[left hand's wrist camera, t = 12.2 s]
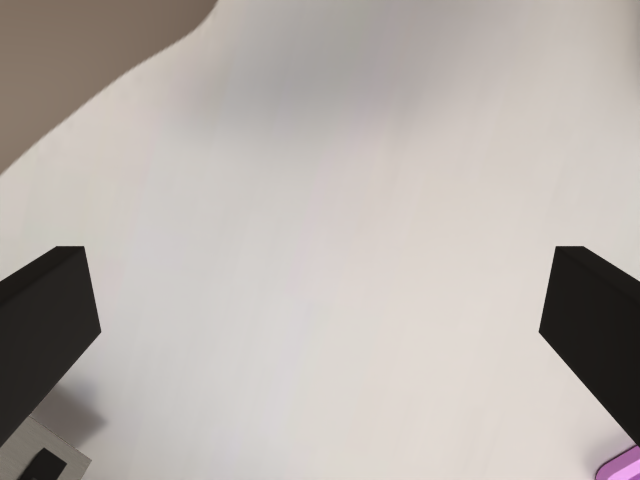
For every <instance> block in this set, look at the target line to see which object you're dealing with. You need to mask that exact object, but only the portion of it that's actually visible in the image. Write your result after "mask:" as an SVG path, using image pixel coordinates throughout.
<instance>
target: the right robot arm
mask: <svg viewBox="0 0 640 480" xmlns="http://www.w3.org/2000/svg"><path fill="white" fill-rule="evenodd" d="M66 465H67V463H66V462H65V461H63V460H62V459H60V458H59V457H57V456H56V455H54V454H53V453H52V452H50V451H49V450H47V449H46V448H43V449H41V450H40V451H39V452H38V454H37V455H36V456H35V458H34V459H33V460H32V462H31V463H30V464H29V466H28V467H27V468H26V470H25V471H24V472H23V474H22V475H21V476H20V478H19V479H18V480H57V479H58V477H59V476H60V474H61V473H62V471H63V470H64V468H65V467H66Z"/></svg>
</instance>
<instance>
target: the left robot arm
mask: <svg viewBox="0 0 640 480" xmlns="http://www.w3.org/2000/svg"><path fill="white" fill-rule="evenodd" d="M100 333H101V328H100V323H99V318H98V313H97V308H96V303H95V298H94V293H93V288H92V283H91V278H90V273H89V268H88V263H87V258H86V253H85V248H84V246H56V247H55V248H53V249H51V250H50V251H48V252H47V253H45V254H43V255H42V256H40V257H39V258H37V259H35V260H34V261H32V262H31V263H29V264H28V265H26V266H24V267H23V268H21V269H20V270H18V271H16V272H15V273H13V274H12V275H10V276H8V277H7V278H5V279H4V280H2V281H0V448H1V447H2V445H3V444H4V443H5V442H6V441H7V440H8V439H9V437H10V436H11V435H12V434H13V433H14V432H15V431H16V429H17V428H18V427H19V426H20V425H21V424H22V422H23V421H24V420H25V419H26V418H27V417H28V416H29V414H30V413H31V412H32V411H33V410H34V409H35V408H36V406H37V405H38V404H39V403H40V402H41V401H42V400H43V398H44V397H45V396H46V395H47V394H48V393H49V392H50V390H51V389H52V388H53V387H54V386H55V385H56V383H57V382H58V381H59V380H60V379H61V378H62V377H63V375H64V374H65V373H66V372H67V371H68V370H69V369H70V367H71V366H72V365H73V364H74V363H75V362H76V361H77V359H78V358H79V357H80V356H81V355H82V354H83V353H84V351H85V350H86V349H87V348H88V347H89V346H90V345H91V343H92V342H93V341H94V340H95V339H96V338H97V336H98V335H99V334H100ZM539 333H540V334H541V335H542V336H543V338H544V339H545V340H546V341H547V342H548V343H549V345H550V346H551V347H552V348H553V349H554V350H555V351H556V353H557V354H558V355H559V356H560V357H561V358H562V359H563V361H564V362H565V363H566V364H567V365H568V366H569V367H570V369H571V370H572V371H573V372H574V373H575V374H576V375H577V377H578V378H579V379H580V380H581V381H582V382H583V383H584V385H585V386H586V387H587V388H588V389H589V390H590V392H591V393H592V394H593V395H594V396H595V397H596V398H597V400H598V401H599V402H600V403H601V404H602V405H603V406H604V408H605V409H606V410H607V411H608V412H609V413H610V414H611V416H612V417H613V418H614V419H615V420H616V421H617V422H618V424H619V425H620V426H621V427H622V428H623V429H624V431H625V432H626V433H627V434H628V435H629V436H630V437H631V439H632V440H633V441H634V442H635V443H636V444H637V445H638V447H639V448H640V281H638V280H636V279H635V278H633V277H632V276H630V275H628V274H627V273H625V272H624V271H622V270H620V269H619V268H617V267H616V266H614V265H612V264H611V263H609V262H608V261H606V260H605V259H603V258H601V257H600V256H598V255H597V254H595V253H593V252H592V251H590V250H589V249H587V248H585V247H584V246H556V248H555V253H554V258H553V263H552V268H551V273H550V278H549V283H548V288H547V293H546V298H545V303H544V308H543V313H542V318H541V323H540V328H539Z"/></svg>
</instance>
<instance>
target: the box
mask: <svg viewBox="0 0 640 480" xmlns="http://www.w3.org/2000/svg"><path fill="white" fill-rule="evenodd" d="M43 448H46V449H47V450H49V451H50V452H52V453H53V454H54V455H56V456H57V457H59V458H60V459H62V460H63V461H65V462H66V463H67V465H66V467H65V468H64V470H63V471H62V473H61V474H60V476H59V477H58V479H57V480H81V478H82V476H83V475H84V473H85V471H86V470H87V468H88V466H89V464H90V463H91V461H92V460H91V459H89V458H88V457H86V456H85V455H84V454H82V453H81V452H79V451H78V450H76V449H75V448H74V447H72V446H71V445H69V444H68V443H67V442H65V441H64V440H62V439H61V438H59V437H58V436H57V435H55V434H54V433H52V432H51V431H50V430H48V429H47V428H45V427H44V426H42V425H41V424H40V423H38V422H37V421H35V420H34V419H33V418H31V417H30V416H28V417H27V418H26V419H25V420H24V421H23V422H22V424H21V425H20V426H19V427H18V428H17V429H16V431H15V432H14V433H13V434H12V435H11V436H10V437H9V439H8V440H7V441H6V442H5V443H4V444H3V445H2V447H1V448H0V480H18V479H19V478H20V476H21V475H22V474H23V472H24V471H25V470H26V468H27V467H28V466H29V464H30V463H31V462H32V460H33V459H34V458H35V456H36V455H37V454H38V452H39V451H40V450H41V449H43Z"/></svg>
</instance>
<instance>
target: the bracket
mask: <svg viewBox="0 0 640 480" xmlns="http://www.w3.org/2000/svg"><path fill="white" fill-rule="evenodd" d="M596 480H640V448H639V447H638V446H636V447H634V448H633V449H631V450H629V451H628V452H626V453H624V454H622V455H621V456H619V457H617V458H615V459H614V460H612V461H610V462H609V463H607V464H605V465H604V466H603V467H602V468H601V469H600V470H599V472H598V473H597V476H596Z"/></svg>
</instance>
